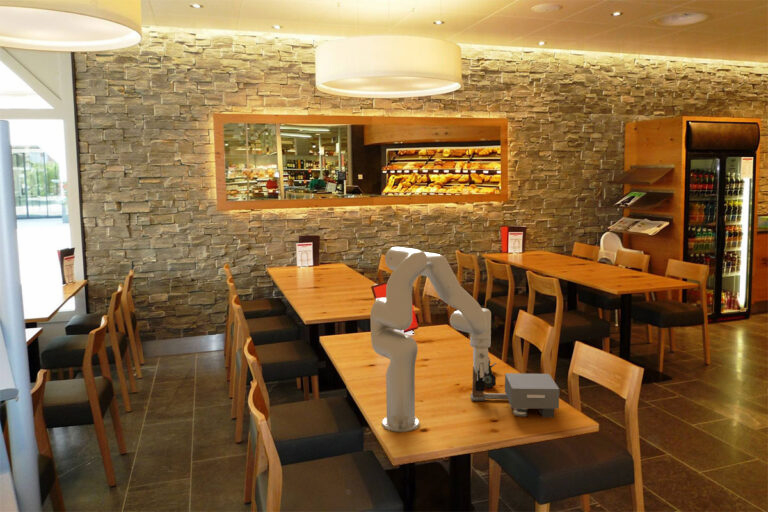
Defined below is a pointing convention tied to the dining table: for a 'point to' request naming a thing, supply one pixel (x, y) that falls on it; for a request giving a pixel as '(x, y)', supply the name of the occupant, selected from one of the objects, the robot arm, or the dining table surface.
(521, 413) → the steel puck
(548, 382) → the charcoal cabinet
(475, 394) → the scraper
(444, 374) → the dining table surface
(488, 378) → the artificial flower
